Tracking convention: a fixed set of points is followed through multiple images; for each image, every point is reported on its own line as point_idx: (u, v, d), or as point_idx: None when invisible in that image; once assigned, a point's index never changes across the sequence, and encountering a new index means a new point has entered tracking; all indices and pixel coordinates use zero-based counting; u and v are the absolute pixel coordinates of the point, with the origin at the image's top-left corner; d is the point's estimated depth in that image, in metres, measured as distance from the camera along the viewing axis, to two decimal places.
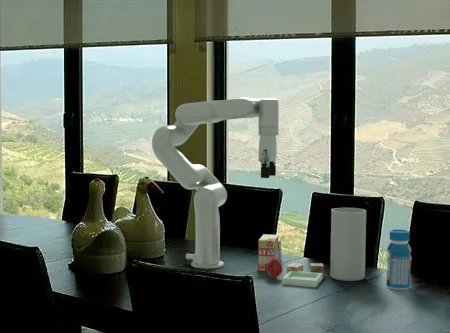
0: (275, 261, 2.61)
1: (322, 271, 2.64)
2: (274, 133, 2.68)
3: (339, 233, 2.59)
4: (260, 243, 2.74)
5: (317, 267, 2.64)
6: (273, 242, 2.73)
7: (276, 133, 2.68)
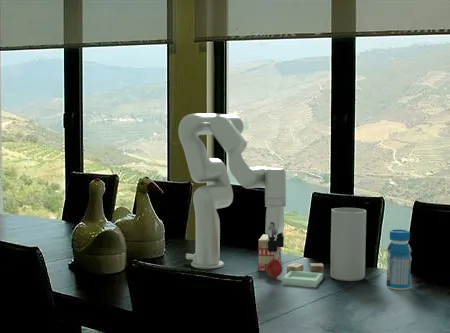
0: (275, 261, 2.61)
1: (322, 271, 2.64)
2: (281, 205, 2.57)
3: (339, 233, 2.59)
4: (260, 243, 2.74)
5: (317, 267, 2.64)
6: None
7: (283, 204, 2.58)
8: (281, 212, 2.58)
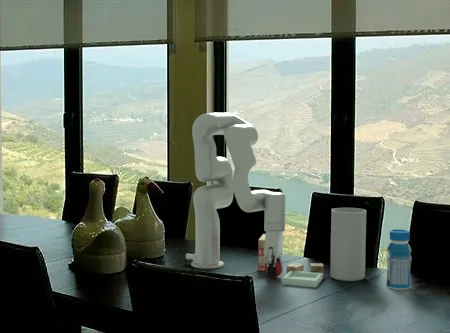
0: None
1: (322, 271, 2.64)
2: (280, 229, 2.58)
3: (339, 233, 2.59)
4: (260, 243, 2.74)
5: (317, 267, 2.64)
6: None
7: (283, 229, 2.59)
8: (280, 237, 2.59)
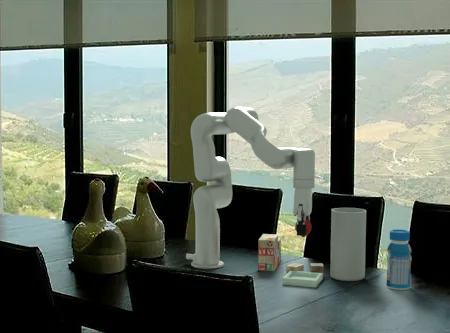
0: None
1: (322, 271, 2.64)
2: (310, 186, 2.52)
3: (339, 233, 2.59)
4: (260, 243, 2.75)
5: (317, 267, 2.64)
6: (273, 242, 2.74)
7: (312, 186, 2.52)
8: (309, 194, 2.53)
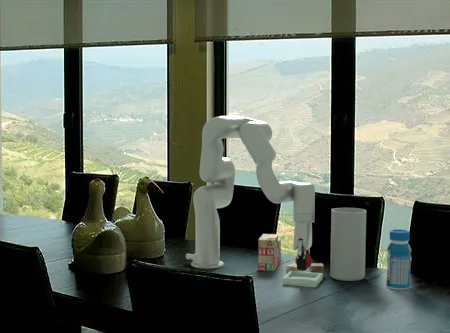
0: None
1: (322, 271, 2.64)
2: (310, 220, 2.53)
3: (339, 233, 2.59)
4: (260, 242, 2.75)
5: (317, 267, 2.64)
6: (273, 241, 2.74)
7: (312, 220, 2.53)
8: (309, 228, 2.54)
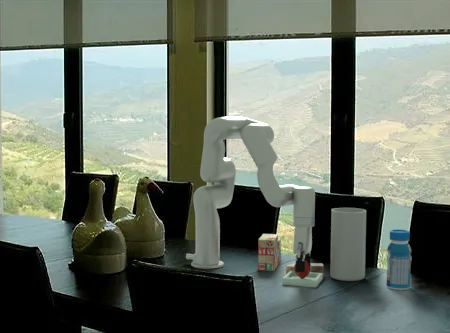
0: None
1: (322, 271, 2.64)
2: (310, 224, 2.53)
3: (339, 233, 2.59)
4: (260, 242, 2.75)
5: (317, 267, 2.64)
6: (273, 241, 2.74)
7: (312, 224, 2.54)
8: (309, 232, 2.54)
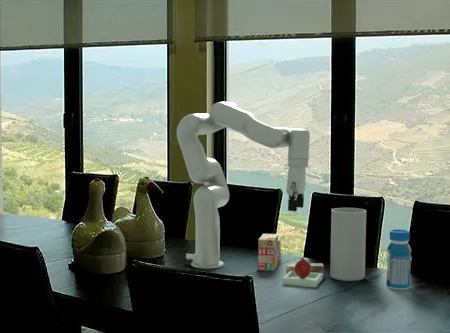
0: (304, 261, 2.56)
1: (322, 271, 2.64)
2: (304, 165, 2.60)
3: (339, 233, 2.59)
4: (260, 242, 2.75)
5: (317, 267, 2.64)
6: (273, 241, 2.74)
7: (306, 165, 2.61)
8: (303, 173, 2.62)
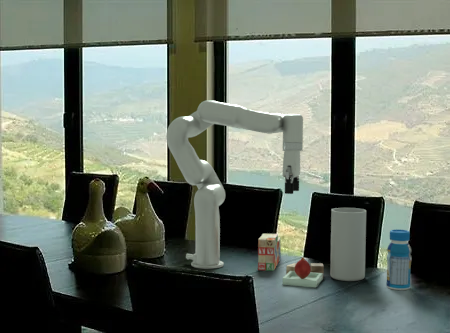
0: (304, 261, 2.56)
1: (322, 271, 2.64)
2: (298, 149, 2.68)
3: (339, 233, 2.59)
4: (260, 242, 2.76)
5: (317, 267, 2.64)
6: (273, 241, 2.74)
7: (300, 149, 2.69)
8: (298, 156, 2.69)
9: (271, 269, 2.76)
